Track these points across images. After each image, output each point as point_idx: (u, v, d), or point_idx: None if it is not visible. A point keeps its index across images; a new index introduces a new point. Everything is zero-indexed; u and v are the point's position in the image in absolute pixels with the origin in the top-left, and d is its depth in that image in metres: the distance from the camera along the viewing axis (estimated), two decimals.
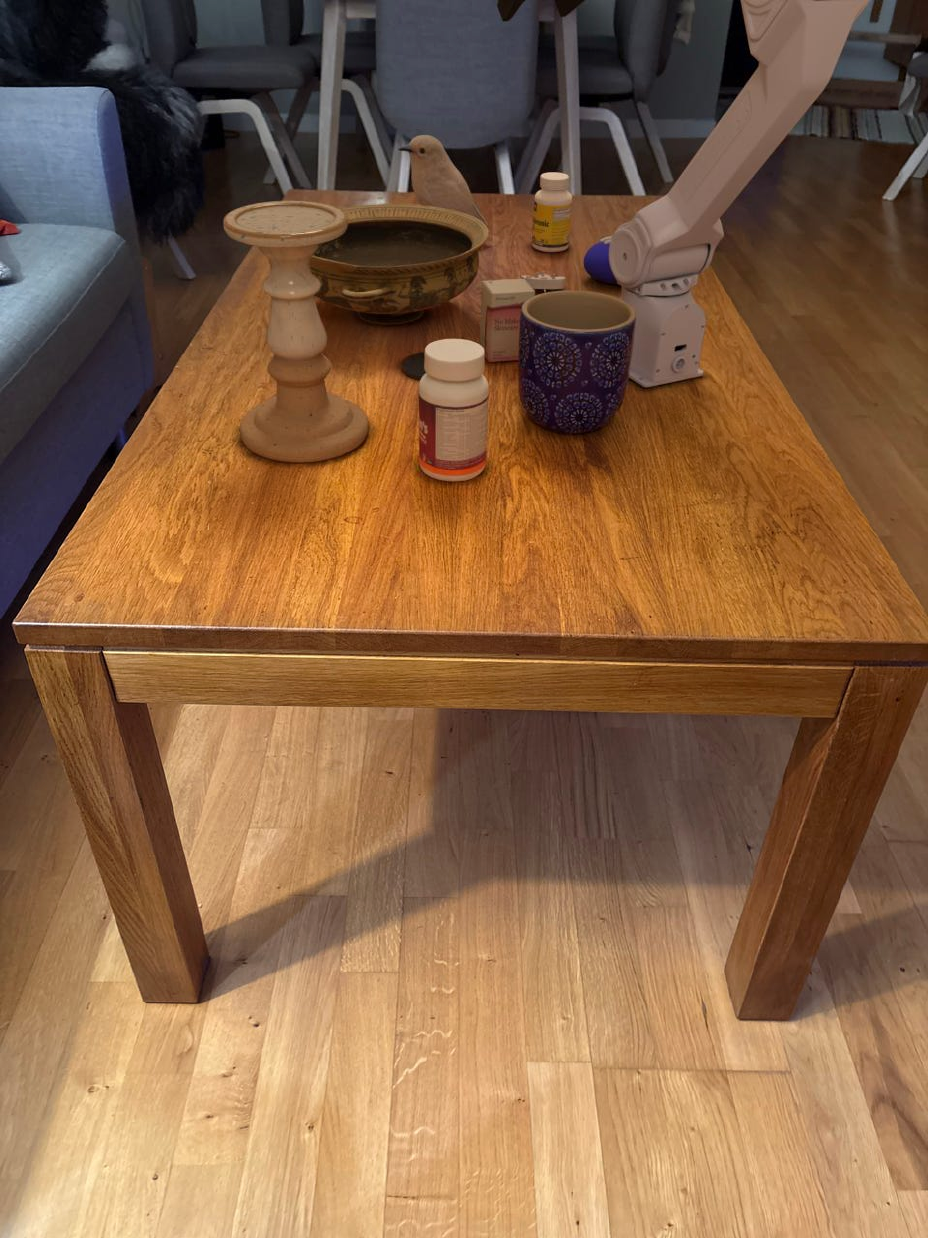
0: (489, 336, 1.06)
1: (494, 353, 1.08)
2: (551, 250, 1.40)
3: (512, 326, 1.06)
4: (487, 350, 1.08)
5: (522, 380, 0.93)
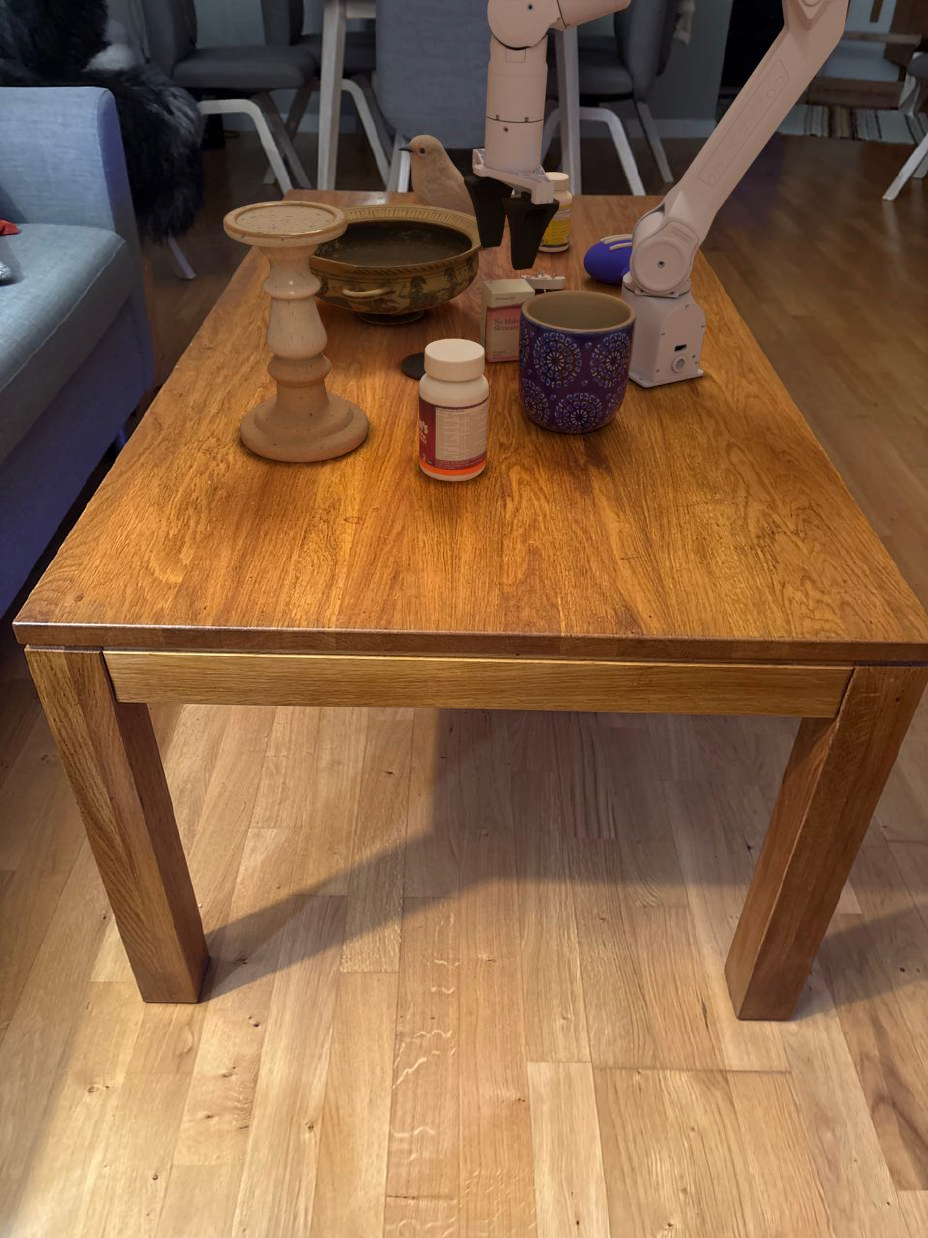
0: (489, 336, 1.06)
1: (494, 353, 1.08)
2: (551, 250, 1.40)
3: (512, 326, 1.06)
4: (487, 350, 1.08)
5: (522, 380, 0.93)
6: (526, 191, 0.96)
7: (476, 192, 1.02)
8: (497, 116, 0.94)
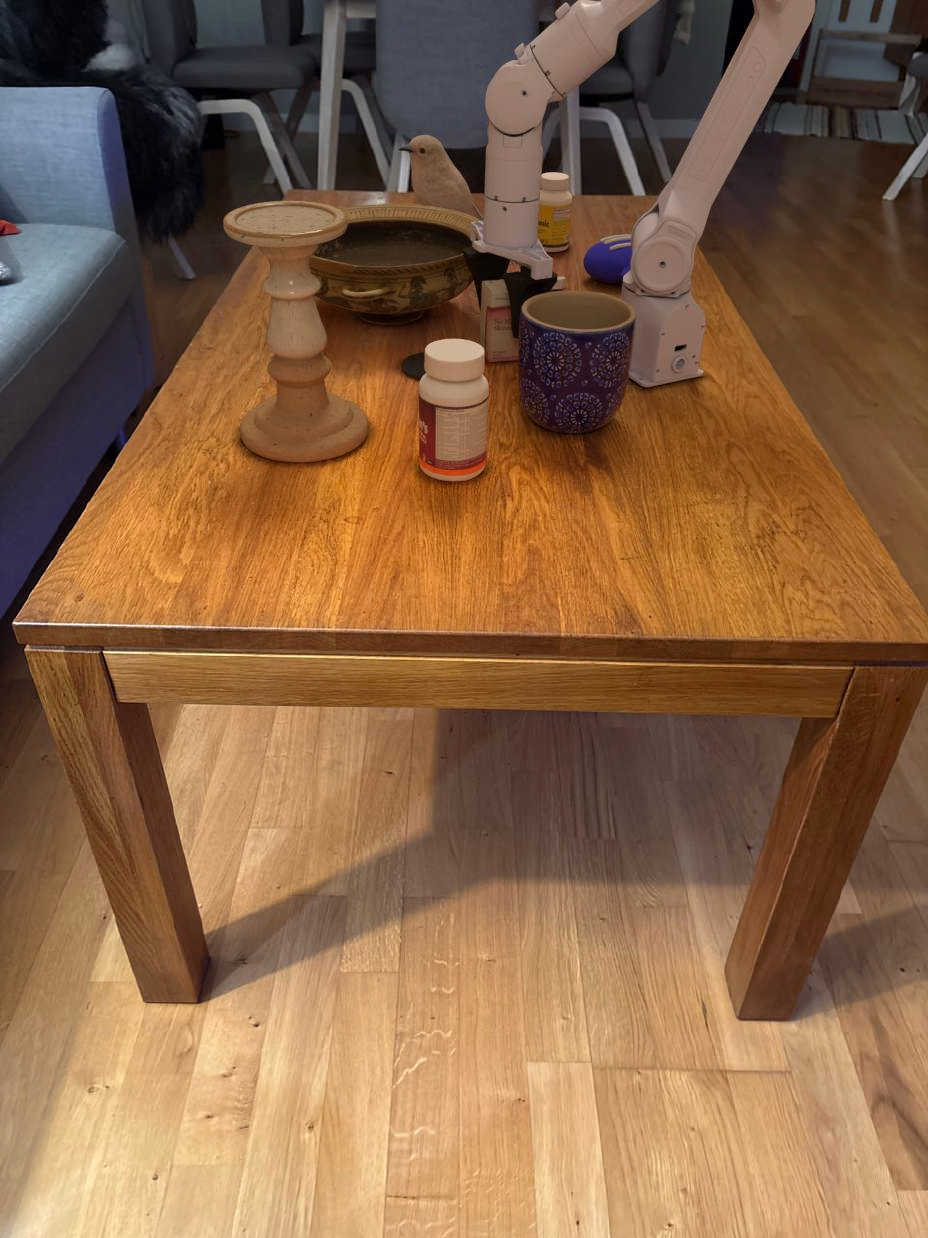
0: (489, 336, 1.06)
1: (494, 353, 1.08)
2: (551, 250, 1.40)
3: None
4: (487, 350, 1.08)
5: (522, 380, 0.93)
6: (525, 266, 1.00)
7: (475, 263, 1.06)
8: (496, 196, 0.98)
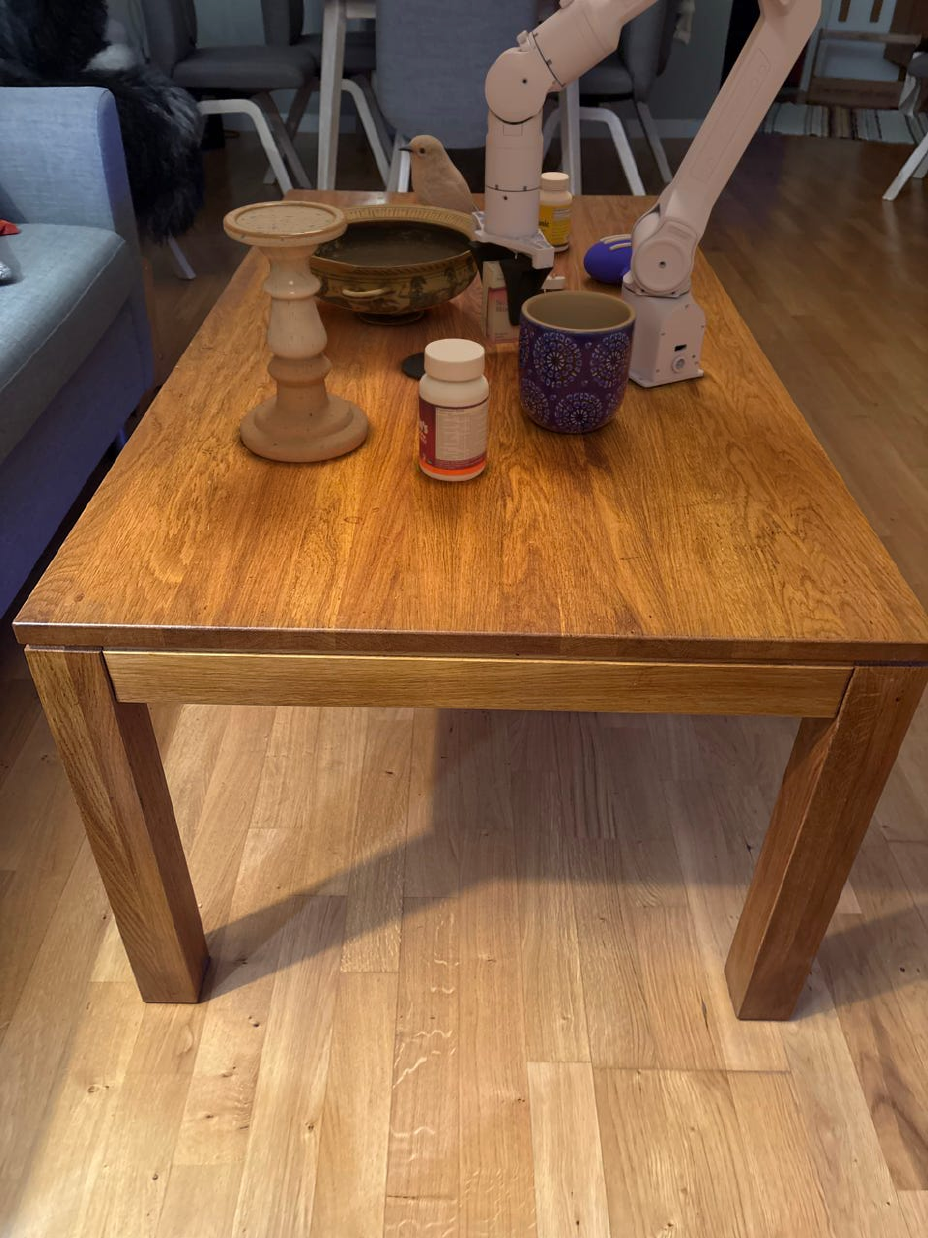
0: (491, 318, 1.05)
1: (496, 335, 1.06)
2: None
3: None
4: (489, 332, 1.06)
5: (522, 380, 0.93)
6: (526, 255, 1.00)
7: (481, 257, 1.05)
8: (496, 185, 0.97)
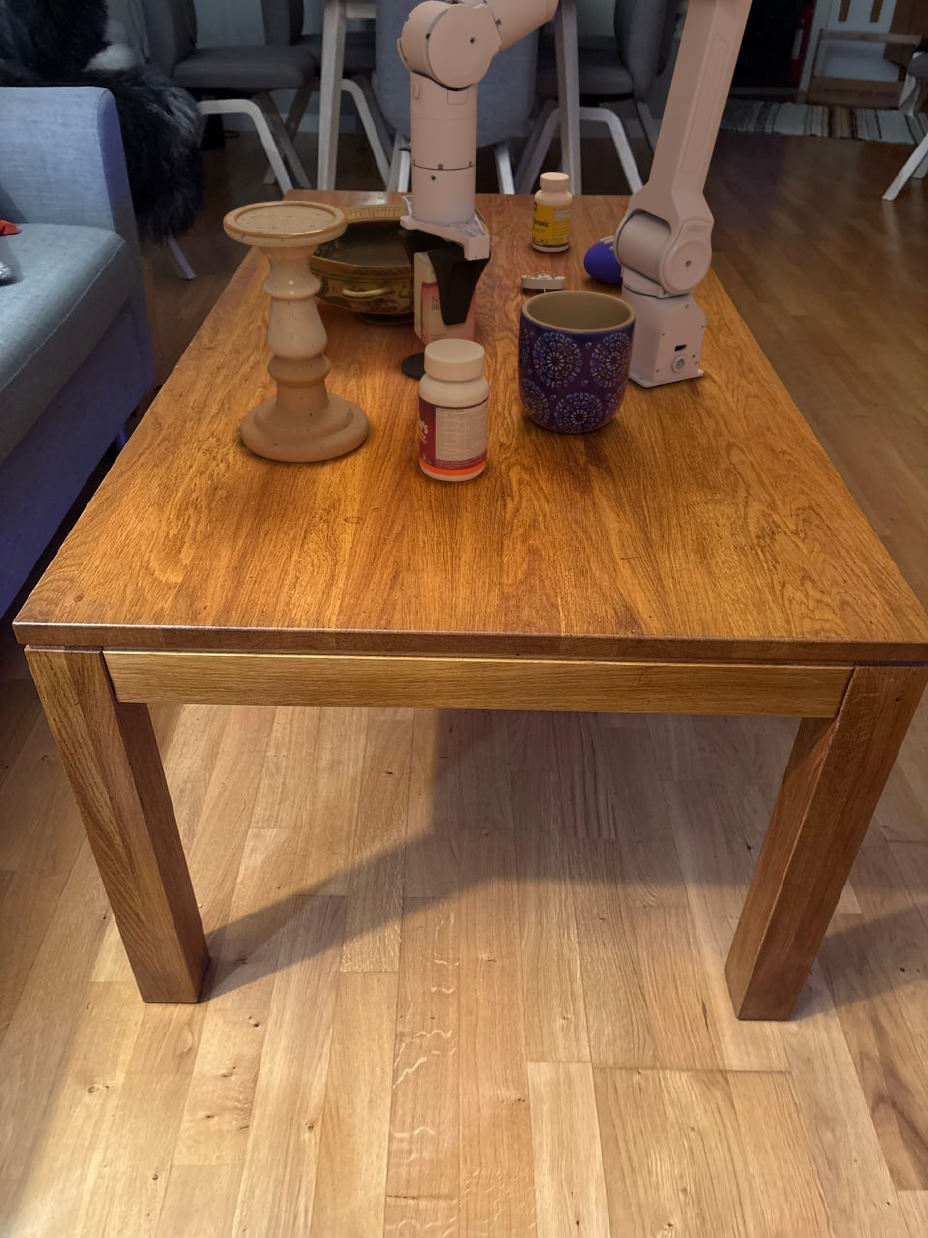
0: (426, 317, 0.92)
1: (433, 337, 0.93)
2: (551, 250, 1.40)
3: None
4: (425, 333, 0.93)
5: (522, 380, 0.93)
6: (459, 245, 0.86)
7: (412, 248, 0.91)
8: (438, 165, 0.83)
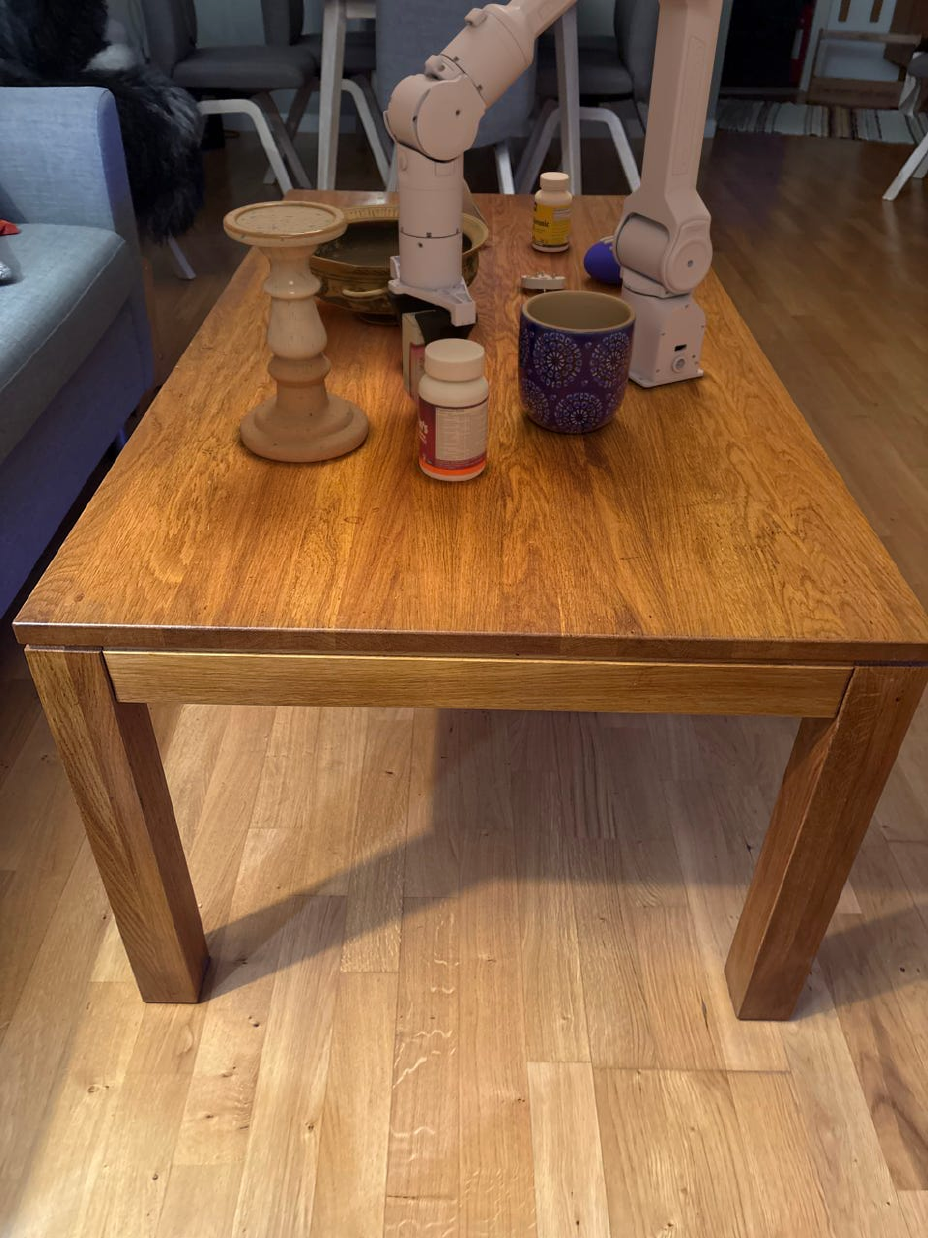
0: (415, 377, 0.93)
1: None
2: (551, 250, 1.40)
3: None
4: (413, 392, 0.94)
5: (522, 380, 0.93)
6: (446, 309, 0.88)
7: (400, 309, 0.93)
8: (427, 233, 0.85)
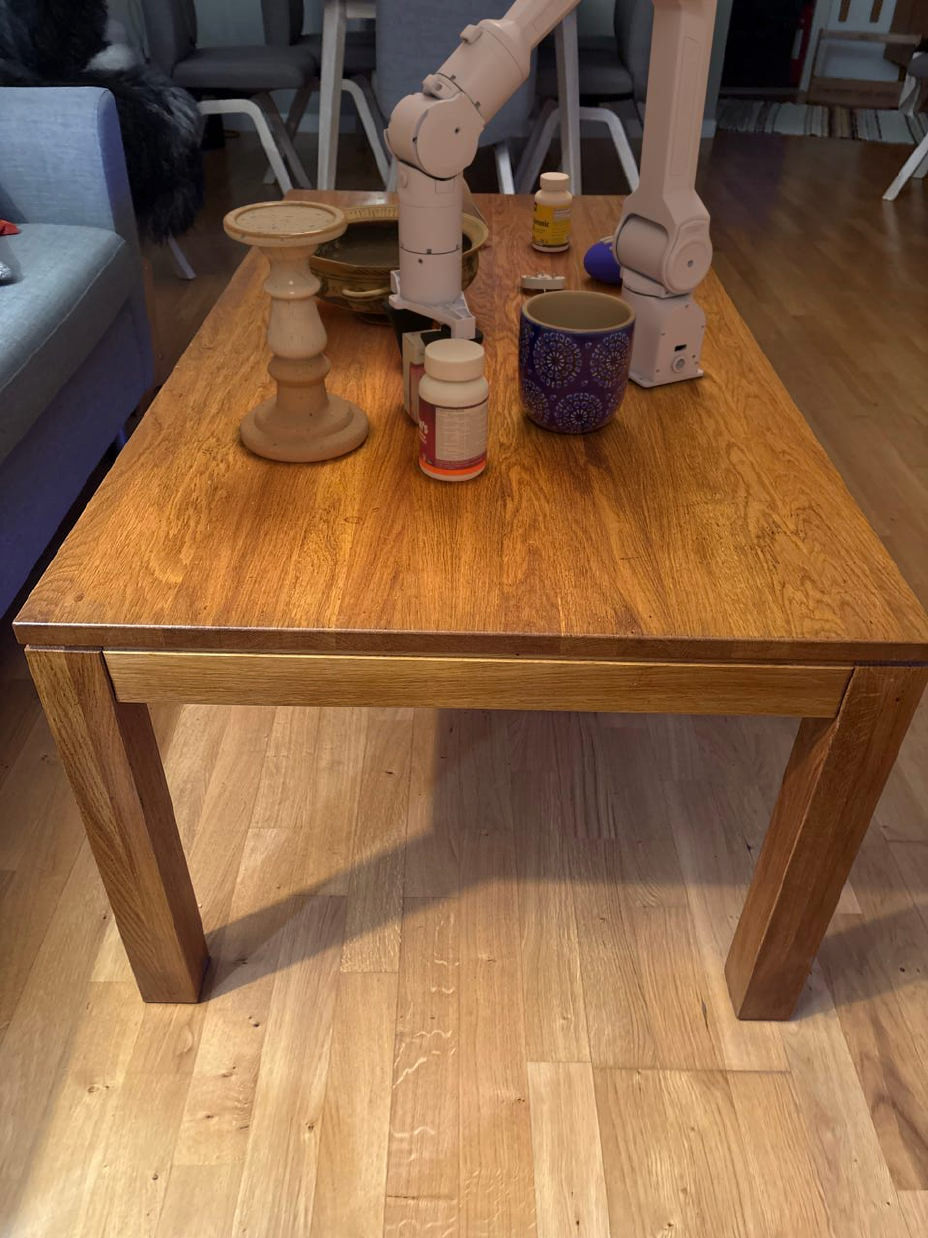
0: (415, 396, 0.94)
1: None
2: (551, 250, 1.40)
3: None
4: (413, 410, 0.95)
5: (522, 380, 0.93)
6: (446, 324, 0.88)
7: (395, 318, 0.95)
8: (427, 250, 0.86)
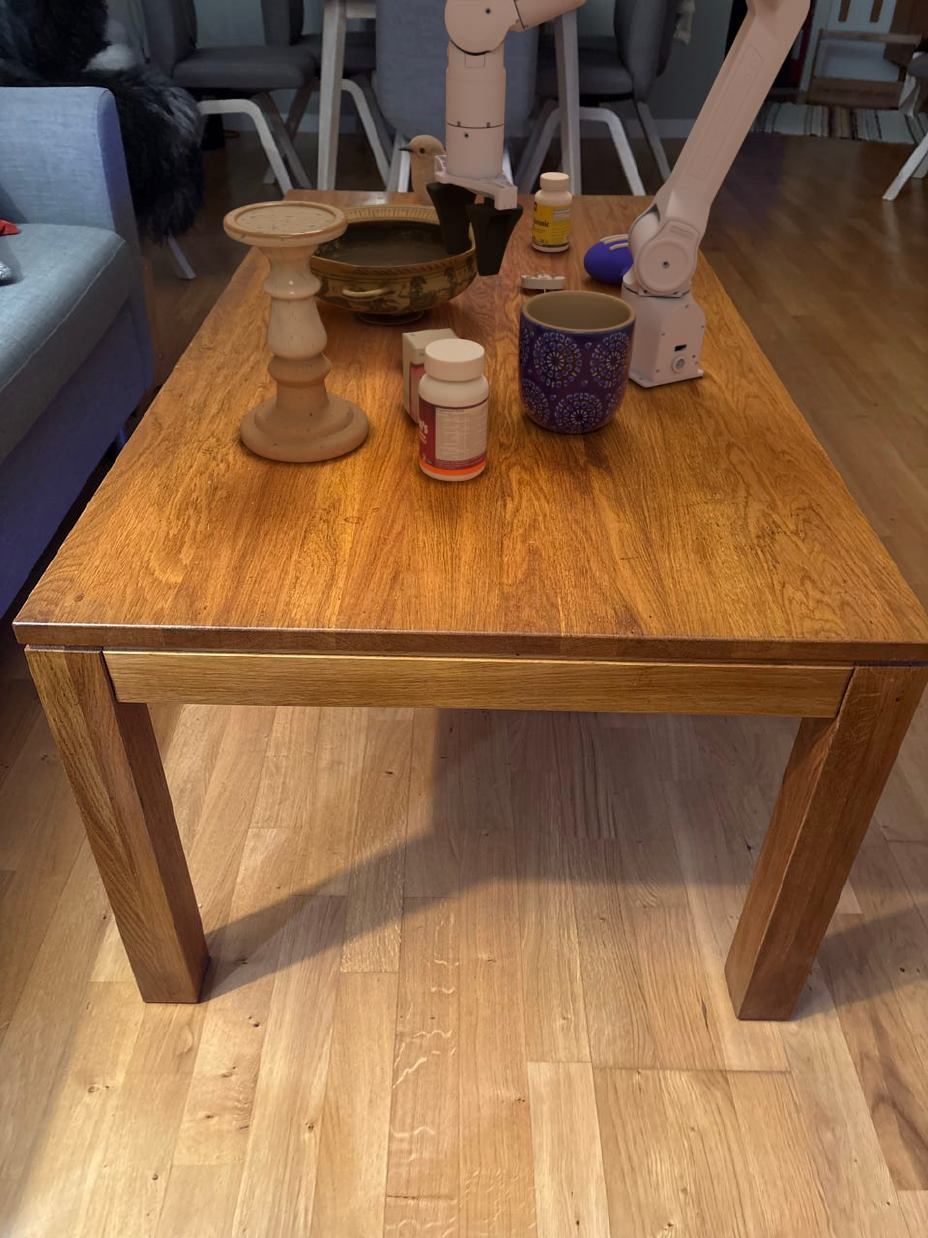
0: (415, 396, 0.94)
1: None
2: (551, 250, 1.40)
3: None
4: (413, 410, 0.95)
5: (522, 380, 0.93)
6: (489, 197, 0.95)
7: (439, 199, 1.01)
8: (458, 122, 0.93)
